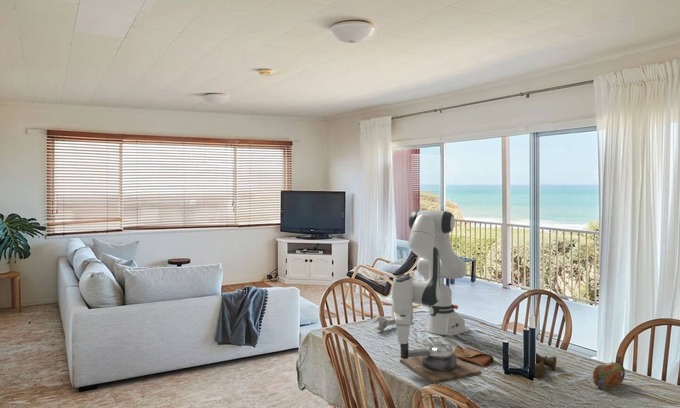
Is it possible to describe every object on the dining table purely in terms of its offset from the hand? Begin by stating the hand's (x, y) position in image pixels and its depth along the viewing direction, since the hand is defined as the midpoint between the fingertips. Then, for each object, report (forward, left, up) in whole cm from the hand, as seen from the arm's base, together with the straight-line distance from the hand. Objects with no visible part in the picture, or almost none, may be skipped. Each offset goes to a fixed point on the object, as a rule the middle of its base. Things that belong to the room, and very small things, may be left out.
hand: (402, 347), depth 198 cm
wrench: (-26, -50, -10) cm, 57 cm away
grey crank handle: (-9, +4, -4) cm, 11 cm away
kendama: (-53, +25, -10) cm, 59 cm away
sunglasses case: (-33, +4, -10) cm, 34 cm away
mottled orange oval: (-64, +46, -10) cm, 79 cm away
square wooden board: (-15, +5, -9) cm, 18 cm away
